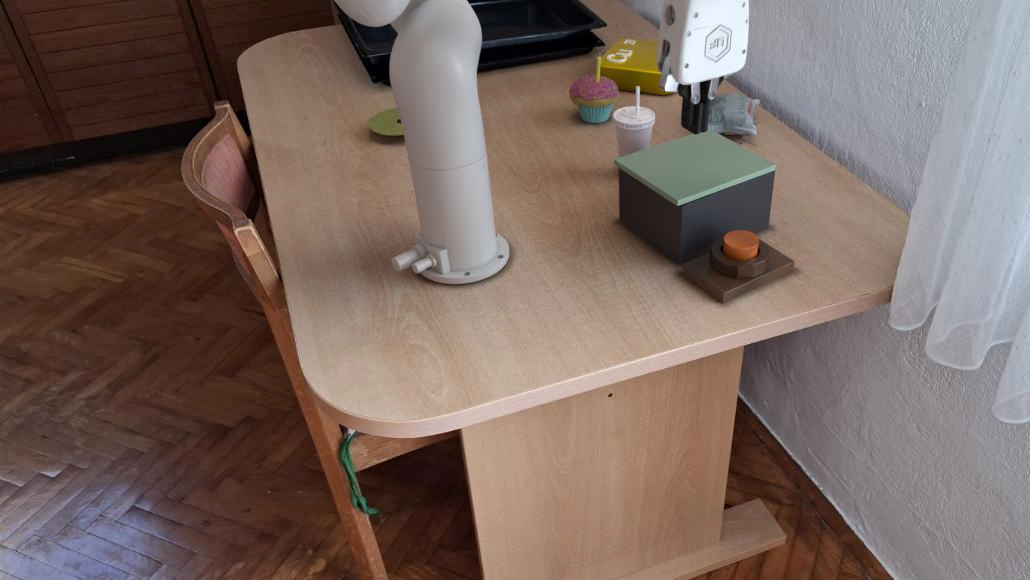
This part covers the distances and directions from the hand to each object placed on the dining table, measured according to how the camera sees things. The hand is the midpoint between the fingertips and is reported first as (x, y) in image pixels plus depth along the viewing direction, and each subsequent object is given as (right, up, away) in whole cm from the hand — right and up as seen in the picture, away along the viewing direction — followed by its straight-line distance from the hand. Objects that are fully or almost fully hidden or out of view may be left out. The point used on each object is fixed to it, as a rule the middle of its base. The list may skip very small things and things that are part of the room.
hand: (693, 128), depth 104 cm
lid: (+1, -2, +11) cm, 11 cm away
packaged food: (+11, +10, +40) cm, 43 cm away
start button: (+6, -14, +5) cm, 17 cm away
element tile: (-3, +24, +58) cm, 63 cm away
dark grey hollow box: (+2, -9, +17) cm, 19 cm away
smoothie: (-6, 0, +29) cm, 29 cm away
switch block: (+7, -17, +7) cm, 20 cm away
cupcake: (-12, +13, +45) cm, 48 cm away
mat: (-45, +10, +42) cm, 62 cm away
